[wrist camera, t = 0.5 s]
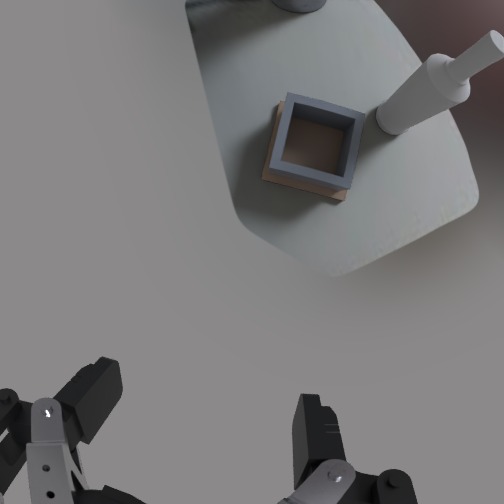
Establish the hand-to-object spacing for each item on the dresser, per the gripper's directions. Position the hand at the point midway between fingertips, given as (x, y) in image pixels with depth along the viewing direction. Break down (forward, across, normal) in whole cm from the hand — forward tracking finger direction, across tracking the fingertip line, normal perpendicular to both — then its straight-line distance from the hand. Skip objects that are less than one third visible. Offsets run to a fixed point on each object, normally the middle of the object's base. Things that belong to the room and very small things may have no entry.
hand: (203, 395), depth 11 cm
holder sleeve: (+29, -6, -14) cm, 33 cm away
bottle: (+29, -17, -21) cm, 40 cm away
